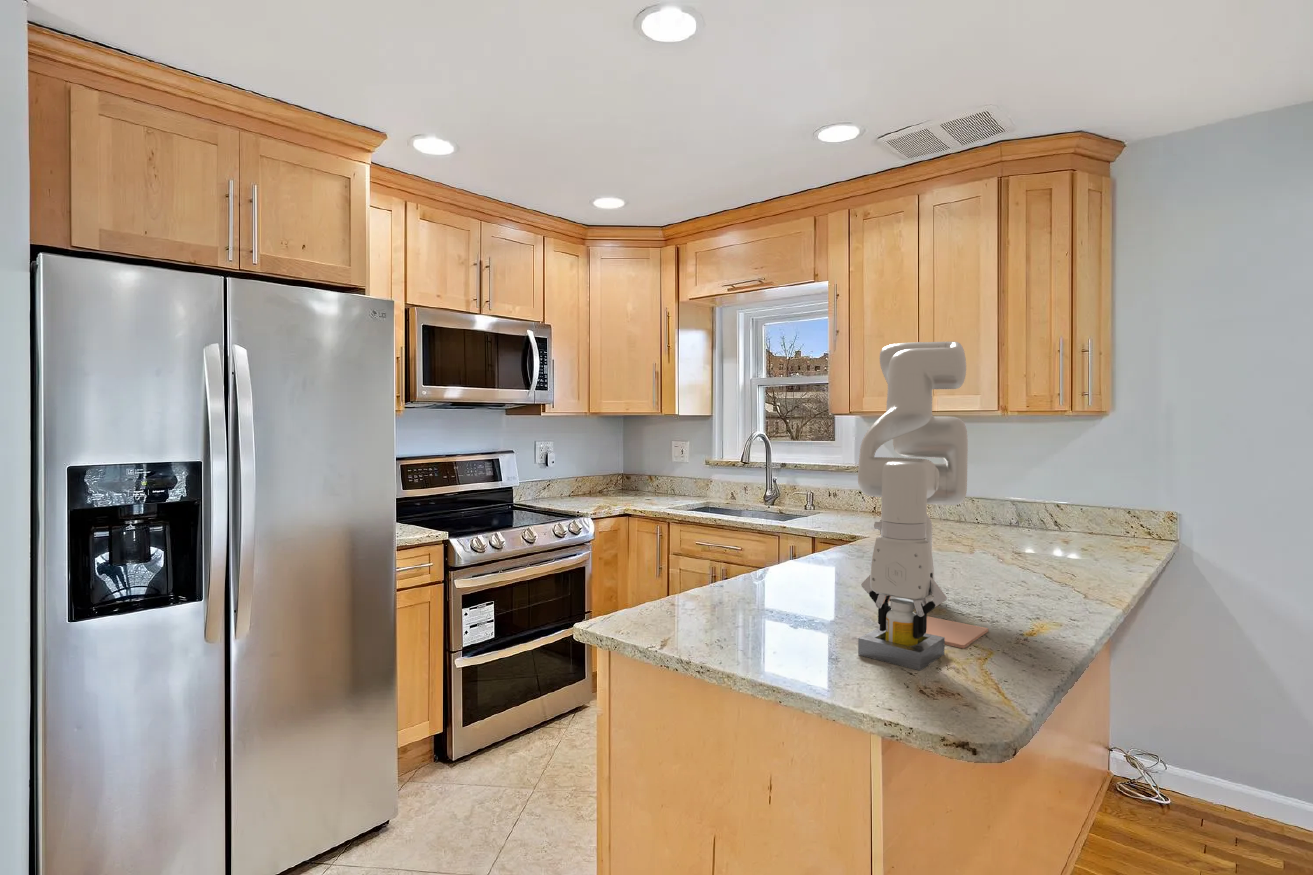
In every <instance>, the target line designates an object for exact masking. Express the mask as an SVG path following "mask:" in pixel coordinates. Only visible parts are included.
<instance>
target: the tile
mask: <svg viewBox="0 0 1313 875" xmlns="http://www.w3.org/2000/svg"><path fill="white" fill-rule="evenodd" d="M926 633H927V634H931V635H936V636H941V637H945V645H946V646H950V647H956V648H958V649H959V648H960V649H966V648H967V647H968V646H969V645H972V644H973V643H974V642H975V641H977V640H978V639H980V638H981V637H982V636H985V635H986V633H989V628H988V627H983V626H979V625H974V624H973V625H972V624H970V623H969V624H968V623H963V622H958V621H954V620H948V619H943V618H938V617H933V616H929V615H927V629H926Z"/></svg>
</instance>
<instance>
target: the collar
mask: <svg viewBox="0 0 1313 875" xmlns="http://www.w3.org/2000/svg"><path fill="white" fill-rule="evenodd" d="M857 640H858V643H857V644H858V645H857V646H858V647H857V655H858V656H861V657H865V658H869V659H873V660H876V661H881V662H885V663H890V664H892V665H897V666H900V667H905V668H909V669H912V670H913V669H914V670H916V671H922V670H923V669H925V668H926V667H928V666H929V665H930V664H932V663H933V662H935V661H937V660H938V659H939V658H941V657H942V656H944V655H945V645H946V644H945V637H941V636H936V635H931V634H927V633H925V634H924V636H922V637H920V638H919V639H918V644H917V645H916V646H914V647H911V646H907V645H903V644H898V643H894V642H890V641H886V630H885V631H880V626H879V627H877V628H876V629H873V630H872V631H870V632H867V633H865V634H863V635H861V636H860V637H858V639H857Z"/></svg>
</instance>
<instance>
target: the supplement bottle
mask: <svg viewBox="0 0 1313 875" xmlns="http://www.w3.org/2000/svg"><path fill="white" fill-rule="evenodd" d="M889 606H890V607H891V610H890V611H888V612H887V614H886V641H890V642H894V643H898V644H903V645H907V646H911V647H914V646H916V645H917V644H918V639H915V638H914V637H913V620H914V616H915V615H916V613H915V612H914V611H915V610H916V609H915V605H914V602H913V601H912V600H910V599H904V598H894V599H890V605H889Z"/></svg>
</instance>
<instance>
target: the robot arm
mask: <svg viewBox="0 0 1313 875" xmlns="http://www.w3.org/2000/svg"><path fill="white" fill-rule="evenodd" d="M879 364H880V369H881V372H882V374H883V378H884V379H885V381H886V383H887V393H886V395H887V396H886V397H887V398H886V411H885V413H884V414H882V415H881V416H880V417H878V419H876V420H875V421H874V423H872V424H871V426H870V427H869V428H868V429H867V430H866V432H865V434H864V437H863V438H862V441H861V442H860V443H861V444H860V448H859V458H858V469H857V482H858V483H857V484H858V487H859V489H860V491H861V492H862V494H864V495H866V496H869V497H872V498H873V497H875V498H881V512H880V513H881V514H880V515H881V517H880V520H879V521H875V522H874V524H873V526H874V527H873V528H874V530H878V531H879V535H878V536H876V538H875V540H874V545H873V550H872V558H871V563H870V564H871V566H870V573H869V575H868V576H867V577H866V579H864V580H863V581H862V582H861V588H862V589H863V590H864V591H865V592H866V594H868V595H869V597H870V599H871V600H872V601H873V603H874V604H875V607H876V609H877V610H878V611H877V612H878V614H877V624H878V625H879V627H880V631H885V630H886V614H887V612H888V611H890V610H892V609H891V607H890V605H889V604H890V603H889V602H890V601H891V599H894V598H904V599H910V600H912V601H913V602H914V605H915V609H914V610H915V612H916V613H915V614H916V615H915V616H914V620H913V637H914V638H915V639H919V638H920V637H922V636H924V634H925V633H926V629H927V616H928V614H930V612H931V611H933V610H934V609H935V608H936V607H938V606H939V605H941V604H943V603H945V601H947V598H948V597H947V595H946V594H945V592H944V591H943V590H942V589H941V587H940V586H939V585H938V584H937V582H936V581H935V565H934V557H933V522H932V519H931V518H930V516H929V514H927V513H928V511H927V508H928V506H927V505H938V506H939V505H940V506H957V505H960V504H962V503H963V502H965V499H966V496H967V490H968V455H969V454H968V452H969V451H968V449H969V448H968V447H969V446H968V442H969V441H968V430H967V426H966V423H965V422H964V420H962V419H961V418H960V417H956V416H944V415H943V416H940V415H939V416H934V415H933V390H956V389H960V388H961V387H962V386H963V384H964V383H965V379H966V375H967V361H966V354H965V350H964V347H963V345H962V344H961V343H960V342H958V341H924V342H923V341H916V342H899V343H892V344H889V345H886V346H884V347H882V349H881V350H880V352H879ZM891 440H892V445H893V450H894V451H895V453H896V454H897V455H899V456H901V457H891V456H890V457H887V456H886V457H884V456H883V457H882V456H881V457H880V456H876V452H877V451H878V449H879V448H881V447H882V445H884V444H885V443H887V442H889V441H891ZM875 456H876V457H875ZM927 458H928V459H927ZM929 459H943V460H944V461H945V462H946V463H943V462H942V463H939V462H932V461H931V460H929Z"/></svg>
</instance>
